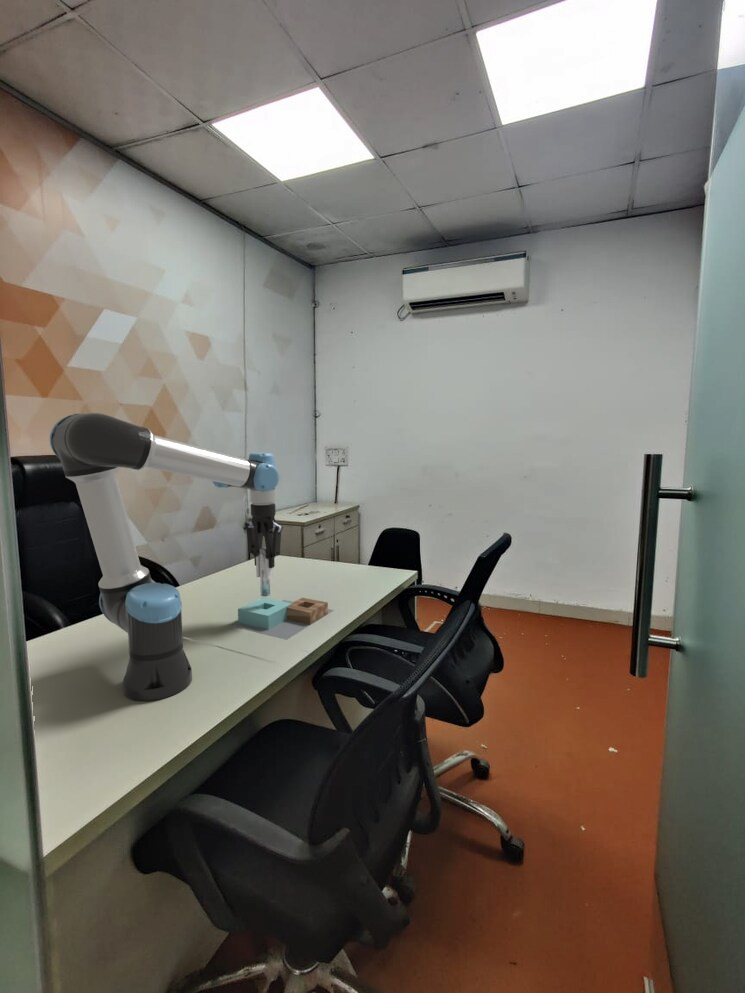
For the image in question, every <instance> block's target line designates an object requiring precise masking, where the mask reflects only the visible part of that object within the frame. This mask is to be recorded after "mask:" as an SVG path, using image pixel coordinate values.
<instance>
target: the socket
mask: <svg viewBox="0 0 745 993" xmlns="http://www.w3.org/2000/svg"><path fill="white" fill-rule="evenodd" d="M291 605H292V603H288V602H283V600H278V599H272V598H267V597H265V596H262V597H261V598H258V599H257V600H255V601H252V602H249V603H248V604H246V605H243V606H241V607H240V608H237V623H243V624H247V625H251V626H255V627H259V628H263V629H267V630H269V629H271V628H273V627H275V626H276V625H278V624H280V623H282V622H284V621H285V620H287V607H289V606H291Z"/></svg>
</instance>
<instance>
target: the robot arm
mask: <svg viewBox="0 0 745 993" xmlns="http://www.w3.org/2000/svg"><path fill="white" fill-rule="evenodd" d="M49 445H50V448H51V450H52V452H53V453H54V454H55V456H56V457H57V458H58V459H59V460H60V464H61V466H62V470H63V473H64V476H65V478H66V479H68V480H70V481H72V482H73V483H74V484H75V486H76V489H77V493H78V496H79V500H80V504H81V506H82V509H83V513H84V517H85V519H86V520H85V521H86V523H87V527H88V529H89V533H90V537H91V540H92V543H93V546H94V551H95V553H96V557H97V560H98V563H99V567H100V571H101V574H102V577H101V578H100V580H99V581H98V588H99V592H100V594H99V599H98V605H99V608H100V611H101V612H102V615H103V616H104V617H105V618H106V619H107V620H108V621H109V622H111V623H112V624H114V625H116V626H117V627H118V628H120V629H121V630H123V631H124V632H125V633H127V637H128V639H127V640H128V653H129V659H128V663H127V667H126V670H125V675H124V677H123V680H122V690H123V695H124V697H127V698H129V699H131V700H136V701H143V702H144V701H146V702H147V701H155V700H161V699H164V698H169V697H171V696H173V695H176V694H178V693H180V692H182V691H183V690H185V689H186V688H187V687H189V685H190V684H191V683H192V681H193V670H192V666H191V664H190V662H189V659H188V657H187V655H186V652H185V649H184V644H183V643H184V642H183V638H184V636H183V620H182V618H183V616H182V614H183V612H182V607H183V606H182V605H183V604H182V599H181V594H180V591H179V590H178V589H177V587H175V586H174V585H171V584H169V583H161V582H153V580H152V577H151V574H150V570H149V568H147V567H145V566H144V565H142V564H141V562H140V559H139V555H138V551H137V546H136V543H135V540H134V537H133V531H132V529H131V526H130V525H131V524H130V520H129V518H128V513H127V510H126V508H125V502H124V499H123V496H122V493H121V489H120V486H119V481H118V478H117V473H118V472H119V470H120V469H121V468H125V469H131V470H137V471H140V470H142V469H144V468H147V469H153V470H158V471H161V472H162V471H163V472H168V473H173V474H177V475H182V476H187V477H192V478H196V479H201V480H206V481H211V482H212V484H213V485H214V486H215V487H217V488H225V489H227V488H233V487H234V488H239V489H247V490H249V495H250V496H249V502H250V503H251V504H250V516H251V520H250V521H248V522H244V527H245V529H246V538H247V539H246V540H247V547H248V548H247V549H248V553H249V554H250V555H251V554H252V555H253V557H254V566H255V570H256V572H255V573H256V578H260V555H259V548H261V547H263V541H264V544H265V547H266V551H267V557H266V558H265V569H266V579H269V578H270V579H271V578H273V577H274V568H275V564H276V563H275V558H276V557H278V556H280V555H281V540H282V539H281V538H282V532H283V531H282V530H283V529H284V526H283V525H282V524H278V523H277V521H276V518H275V516H276V504H275V502H276V487H277V485H278V484H279V480H280V474H279V471H278V469H277V467H276V466H275V465H276V464H275V456H274V454H273V453H272V452H271V453H270V452H252V453H250V454H249V455H248V459H245V458H244V457H239V456H235V455H233V454H232V455H231V454H228V453H224V452H220V451H216V450H213V449H209V448H204V447H201V446H197V445H194V444H190V443H185V442H182V441H179V440H175V439H171V438H166V437H164V436H159V435H156V434H153V432H152V431H151V429H149V428H146V427H143V426H139V425H136V424H134V423H131V422H128V421H124V420H122V419H119V418H117V417H114V416H112V415H108V414H104V413H101V412H100V413H99V412H97V413H96V412H92V413H91V412H90V413H83V412H82V413H73V414H69V415H67V416H65V417H62V418H61V419H59V420H58V421H57V422H56V423H54V425H53V427H52V428H51V430H50V433H49Z"/></svg>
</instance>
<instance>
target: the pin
mask: <svg viewBox="0 0 745 993" xmlns="http://www.w3.org/2000/svg"><path fill="white" fill-rule="evenodd" d="M259 555H260V577H259V585H260V588H259V589H260V596H261V597H269V596H271V578H269V579H266V569H265V558H266V557H267V551H266V546H262V547H261V548H259Z"/></svg>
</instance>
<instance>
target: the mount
mask: <svg viewBox="0 0 745 993" xmlns="http://www.w3.org/2000/svg"><path fill="white" fill-rule="evenodd" d="M292 602H293V603H292V605H291V606H289V607H287V620H291V621H295V622H300V623H304V624H309V625H310V626H311V625H313V624H315V623H316V622H318V621H319V620H321V619H323V618H324V617H326V616H327V615H329V614H328V609H329V605H328V604H329V602H327V601H323V600H317V599H312V598H307V597H300V598H299V599H296V600H295V601H292ZM322 617H323V618H322ZM314 622H315V623H314Z"/></svg>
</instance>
